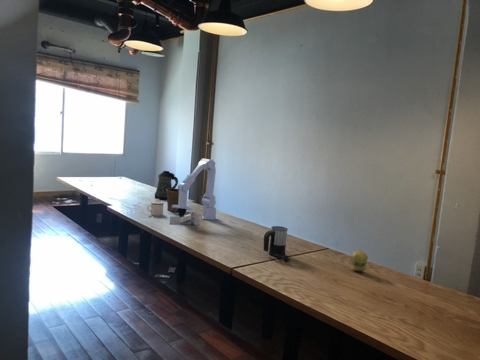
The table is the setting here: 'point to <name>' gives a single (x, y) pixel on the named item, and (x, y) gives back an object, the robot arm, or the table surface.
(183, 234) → the table surface
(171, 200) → the plant pot
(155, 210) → the teacup with lid
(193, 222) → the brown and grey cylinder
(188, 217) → the white long block
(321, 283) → the table surface
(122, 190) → the table surface
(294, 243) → the table surface
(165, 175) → the beer stein
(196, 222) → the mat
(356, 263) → the hamburger
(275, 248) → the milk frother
